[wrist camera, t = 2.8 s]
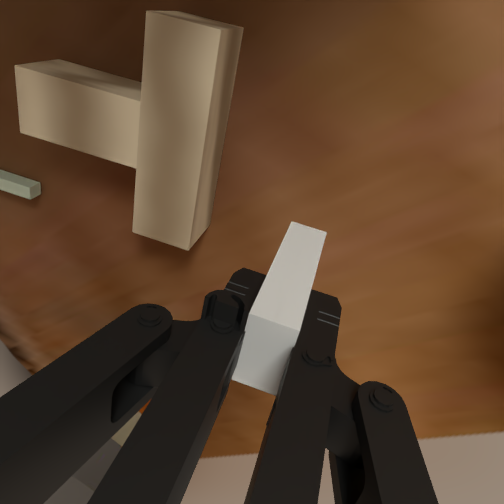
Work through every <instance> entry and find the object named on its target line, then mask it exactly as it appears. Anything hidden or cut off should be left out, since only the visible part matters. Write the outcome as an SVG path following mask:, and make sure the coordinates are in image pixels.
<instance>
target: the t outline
mask: <svg viewBox="0 0 504 504" xmlns="http://www.w3.org/2000/svg"><path fill="white" fill-rule="evenodd" d="M0 190H3V191H6V192H9V193H12V194H15V195H18V196H21V197H24V198H27V199H30V200H31V199H33V198H35V197H36V196H38V195H40V194H41V185H40V182H37V181H34V180H31V179H28V178H25V177H22V176H19V175H16V174H13V173H10V172H6V171H3V170H0Z"/></svg>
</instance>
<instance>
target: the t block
mask: <svg viewBox="0 0 504 504" xmlns="http://www.w3.org/2000/svg"><path fill="white" fill-rule="evenodd" d="M243 30H244V28H243V27H239V26H235V25H231V24H228V23H224V22H220V21H216V20H212V19H208V18H204V17H200V16H197V15H193V14H189V13H185V12H181V11H153V10H146V22H145V38H144V54H143V70H142V82H138V81H135V80H131V79H128V78H124V77H121V76H117V75H114V74H110V73H107V72H103V71H99V70H96V69H92V68H89V67H85V66H82V65H78V64H75V63H71V62H68V61H64V60H61V59H56V60H48V61H41V62H34V63H26V64H19V65H14V66H15V78H16V89H17V101H18V112H19V124H20V133H23V134H26V135H30V136H33V137H36V138H39V139H43V140H46V141H49V142H52V143H55V144H59V145H62V146H65V147H68V148H71V149H75V150H78V151H81V152H84V153H88V154H91V155H94V156H97V157H100V158H104V159H107V160H110V161H113V162H116V163H120V164H123V165H126V166H129V167H133V168H136V182H135V198H134V214H133V230H132V232H134V233H137V234H140V235H143V236H146V237H149V238H152V239H155V240H158V241H161V242H164V243H167V244H170V245H173V246H176V247H179V248H182V249H185V250H188V251H189V249H190V248H191V247H192V246H193V245H194V243H195V242H196V241H197V240H198V239H199V237H200V236H201V235H202V234H203V233H204V231H205V230H206V229H207V228H208V227H209V225H210V221H211V215H212V209H213V204H214V198H215V192H216V186H217V180H218V175H219V169H220V163H221V157H222V152H223V146H224V140H225V134H226V128H227V123H228V117H229V111H230V105H231V100H232V94H233V88H234V82H235V76H236V71H237V65H238V59H239V53H240V48H241V42H242V36H243Z"/></svg>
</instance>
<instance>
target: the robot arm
mask: <svg viewBox="0 0 504 504" xmlns="http://www.w3.org/2000/svg"><path fill="white" fill-rule="evenodd" d="M326 233H327V232H324V231H321V230H318V229H314V228H311V227H308V226H305V225H302V224H299V223H295V222H291V224H290V226H289V228H288V231H287V233H286V235H285V237H284V239H283V241H282V243H281V246H280V248H279V250H278V252H277V254H276V256H275V259H274V261H273V263H272V265H271V267H270V269H269V271H268V274H267V275H264V274H261V273H258V272H255V271H252V270H249V269H246V268H242V269H240V270H238V271H236V272H235V273H234V274H233V275H232V277H231V279H230V280H229V283H228V284H227V285H226V287H225V289H224V290H215V291H212V292H210V293H208V294H207V295H206V296H205V300H204V305H203V310H202V315H201V319H200V320H196V321H179V320H172V319H173V318H172V315H171V313H170V312H169V311H168V310H167V309H166V308H164V307H162V306H159V305H157V304H141V305H138V306H135V307H133V308H131V309H130V310H128V311H127V312H125V313H124V314H122V315H121V316H120V317H118V318H117V319H115V320H114V321H112V322H111V323H109V324H108V325H106V326H105V327H103V328H102V329H100V330H99V331H97V332H96V333H94V334H93V335H92V336H90V337H89V338H87V339H86V340H84V341H83V342H81V343H80V344H78V345H77V346H75V347H74V348H72V349H71V350H69V351H68V352H66V353H65V354H63V355H62V356H61V357H59V358H58V359H56V360H55V361H53V362H52V363H50V364H49V365H47V366H46V367H44V368H43V369H41V370H40V371H38V372H37V373H35V374H34V375H33V376H31V377H30V378H28V379H27V380H25V381H24V382H22V383H21V384H19V385H18V386H16V387H15V388H13V389H12V390H10V391H9V392H8V393H6V394H5V395H3V396H2V397H0V504H43V503H44V502H46V501H47V500H48V499H49V498H50V497H51V496H52V495H53V494H54V493H55V492H56V491H57V490H58V489H59V488H60V487H61V486H62V485H63V484H64V483H65V482H66V481H67V480H68V479H69V478H70V477H71V476H72V475H73V474H74V473H75V472H76V471H77V470H78V469H80V468H81V467H82V466H83V465H84V464H85V463H86V462H87V461H88V460H89V459H90V458H91V457H92V456H93V455H94V454H95V453H96V452H97V451H98V450H99V449H100V448H101V447H102V446H103V445H104V444H105V443H106V442H107V441H108V440H109V439H110V438H111V437H112V436H114V435H115V434H116V433H117V432H118V431H119V430H120V429H121V428H122V427H123V426H124V425H125V424H126V423H127V422H128V421H129V420H130V419H131V418H132V417H133V416H134V415H135V414H136V413H137V412H138V411H139V410H140V409H141V408H142V407H143V406H144V405H145V404H146V403H148V402H149V401H150V402H149V404H148V405H147V407H146V408H145V410H144V412H143V413H142V415H141V417H140V418H139V420H138V421H137V423H136V425H135V426H134V428H133V430H132V431H131V433H130V434H129V436H128V438H127V439H126V441H125V443H124V444H123V446H122V448H121V449H120V451H119V452H118V454H117V456H116V457H115V459H114V461H113V462H112V464H111V465H110V467H109V469H108V470H107V472H106V474H105V475H104V477H103V478H102V480H101V482H100V483H99V485H98V487H97V488H96V490H95V491H94V493H93V495H92V496H91V498H90V500H89V501H88V503H87V504H180V503H181V501H182V498H183V496H184V494H185V491H186V489H187V486H188V484H189V481H190V479H191V477H192V474H193V472H194V470H195V467H196V465H197V462H198V460H199V458H200V456H201V453H202V451H203V448H204V446H205V444H206V441H207V439H208V437H209V434H210V432H211V429H212V427H213V425H214V422H215V420H216V418H217V415H218V413H219V410H220V408H221V406H222V403H223V401H224V398H225V396H226V394H227V391H228V387H229V383H230V380H231V378H232V380H235V381H237V382H240V383H243V384H245V385H248V386H251V387H254V388H256V389H259V390H262V391H264V392H267V393H270V394H273V395H275V396H276V399H275V401H274V404H273V407H272V410H271V413H270V416H269V418H268V421H267V424H266V425H267V427H266V430H265V434H264V437H263V441H262V444H261V448H260V451H259V454H258V458H257V461H256V465H255V468H254V471H253V475H252V478H251V482H250V485H249V488H248V492H247V496H246V499H245V502H244V504H317V503H318V496H319V489H320V482H321V475H322V468H323V461H324V453H325V448H327V449H328V450H329V461H330V469H331V476H332V484H333V492H334V500H335V504H438V501H437V498H436V495H435V492H434V489H433V486H432V483H431V480H430V477H429V474H428V471H427V468H426V465H425V462H424V459H423V456H422V453H421V450H420V447H419V444H418V441H417V438H416V435H415V432H414V429H413V426H412V423H411V420H410V417H409V414H408V411H407V408H406V405H405V403H404V401H403V399H402V397H401V396H400V395H399V394H398V393H397V392H396V391H395V390H394V389H392V388H391V387H389V386H387V385H386V384H383V383H380V382H377V381H368V382H365V383H363V384H362V385H359V384H357V383H356V382H354V381H353V380H351V379H350V378H348V377H347V376H346V375H345V374H344V373H343V372H342V371H341V370H340V369H339V367H338V366H337V364H336V359H335V349H336V343H337V336H338V329H339V322H340V315H341V309H342V308H341V306H340V303H339V301H338V299H337V298H336V297H333V296H330V295H327V294H324V293H321V292H318V291H315V290H312V289H311V288H312V285H313V281H314V277H315V274H316V270H317V266H318V263H319V259H320V255H321V252H322V248H323V244H324V241H325V237H326ZM232 375H233V376H232Z"/></svg>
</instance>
